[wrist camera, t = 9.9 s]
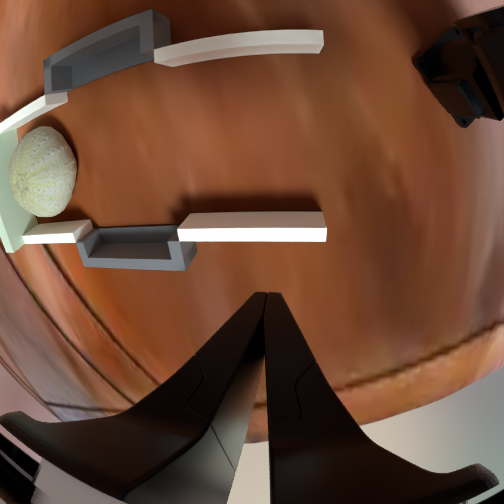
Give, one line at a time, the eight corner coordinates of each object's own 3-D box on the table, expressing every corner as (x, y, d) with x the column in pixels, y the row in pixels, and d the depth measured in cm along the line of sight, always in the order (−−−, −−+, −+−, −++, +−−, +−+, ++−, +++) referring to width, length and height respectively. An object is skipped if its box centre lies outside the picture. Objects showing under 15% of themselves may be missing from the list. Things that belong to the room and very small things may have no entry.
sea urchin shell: (7, 142, 18) (-11, 143, 13) (69, 120, 22) (70, 113, 17) (24, 218, 23) (14, 242, 17) (82, 196, 27) (87, 213, 21)
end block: (15, 120, 19) (-18, 130, 14) (40, 231, 26) (13, 252, 21) (7, 125, 19) (-24, 136, 15) (32, 232, 26) (6, 252, 22)
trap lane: (313, 2, 13) (317, -14, 10) (320, 252, 22) (323, 273, 20) (13, 93, 17) (-6, 97, 15) (47, 250, 27) (32, 263, 24)
